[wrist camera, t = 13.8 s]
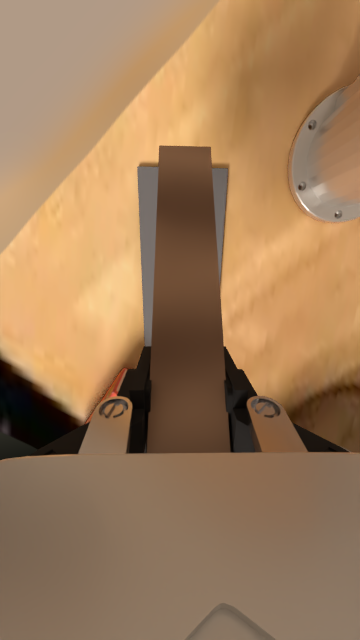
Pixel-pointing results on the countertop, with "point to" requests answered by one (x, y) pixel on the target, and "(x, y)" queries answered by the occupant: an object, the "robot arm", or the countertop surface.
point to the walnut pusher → (186, 311)
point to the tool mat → (148, 231)
